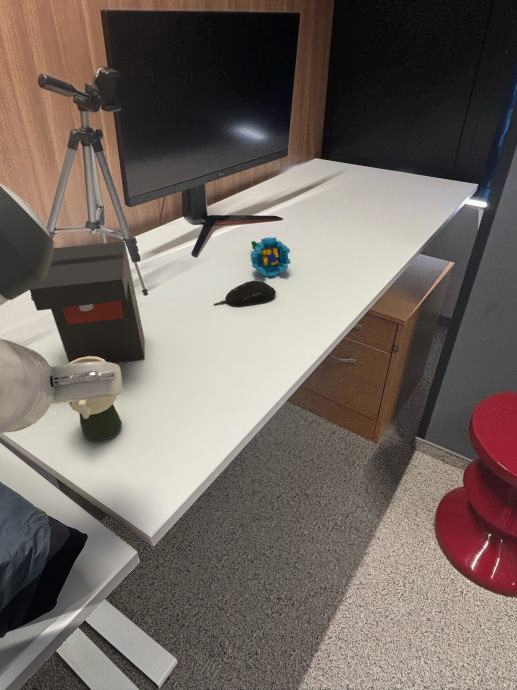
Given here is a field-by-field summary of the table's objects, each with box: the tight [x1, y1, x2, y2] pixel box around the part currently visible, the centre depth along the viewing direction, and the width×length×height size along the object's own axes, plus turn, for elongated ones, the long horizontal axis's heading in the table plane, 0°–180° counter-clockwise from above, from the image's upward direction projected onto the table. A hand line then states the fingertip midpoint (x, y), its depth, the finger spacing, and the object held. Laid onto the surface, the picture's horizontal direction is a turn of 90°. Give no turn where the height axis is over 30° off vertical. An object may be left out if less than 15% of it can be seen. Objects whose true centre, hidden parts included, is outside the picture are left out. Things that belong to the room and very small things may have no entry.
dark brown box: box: [29, 240, 146, 364], centre depth 87 cm, size 14×14×22 cm
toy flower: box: [250, 236, 291, 277], centre depth 123 cm, size 9×9×18 cm
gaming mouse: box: [213, 280, 277, 307], centre depth 110 cm, size 6×15×4 cm, turn 108°
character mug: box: [68, 356, 122, 442], centre depth 76 cm, size 11×7×13 cm, turn 6°
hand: (47, 392), depth 61 cm, fingers open, 8 cm apart
